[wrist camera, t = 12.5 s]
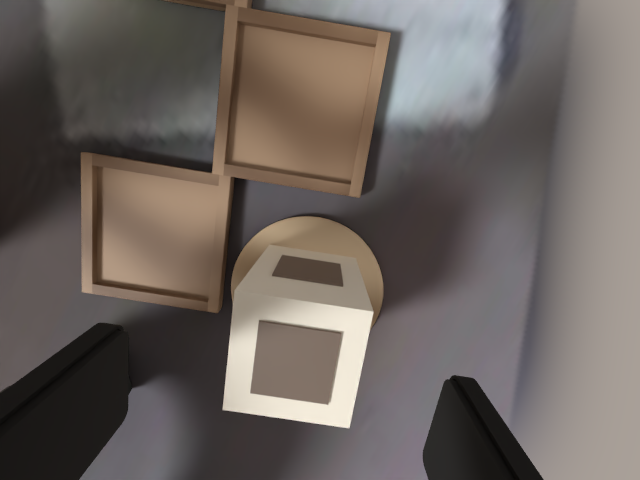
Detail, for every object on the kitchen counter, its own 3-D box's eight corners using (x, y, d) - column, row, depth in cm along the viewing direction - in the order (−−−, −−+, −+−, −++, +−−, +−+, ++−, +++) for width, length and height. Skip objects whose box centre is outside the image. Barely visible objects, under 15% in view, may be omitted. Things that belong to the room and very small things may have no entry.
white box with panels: (269, 242, 18) (234, 288, 11) (355, 256, 18) (374, 310, 11) (259, 323, 19) (221, 411, 12) (341, 335, 19) (349, 430, 12)
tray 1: (91, 152, 17) (80, 151, 17) (234, 176, 18) (230, 176, 17) (91, 287, 19) (81, 292, 18) (221, 307, 19) (217, 313, 19)
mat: (240, 204, 18) (239, 204, 17) (396, 229, 18) (398, 230, 18) (226, 344, 20) (224, 348, 19) (366, 366, 20) (367, 370, 20)
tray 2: (230, 12, 16) (226, 4, 15) (387, 39, 16) (391, 32, 15) (217, 173, 18) (212, 173, 17) (358, 196, 18) (360, 197, 17)
